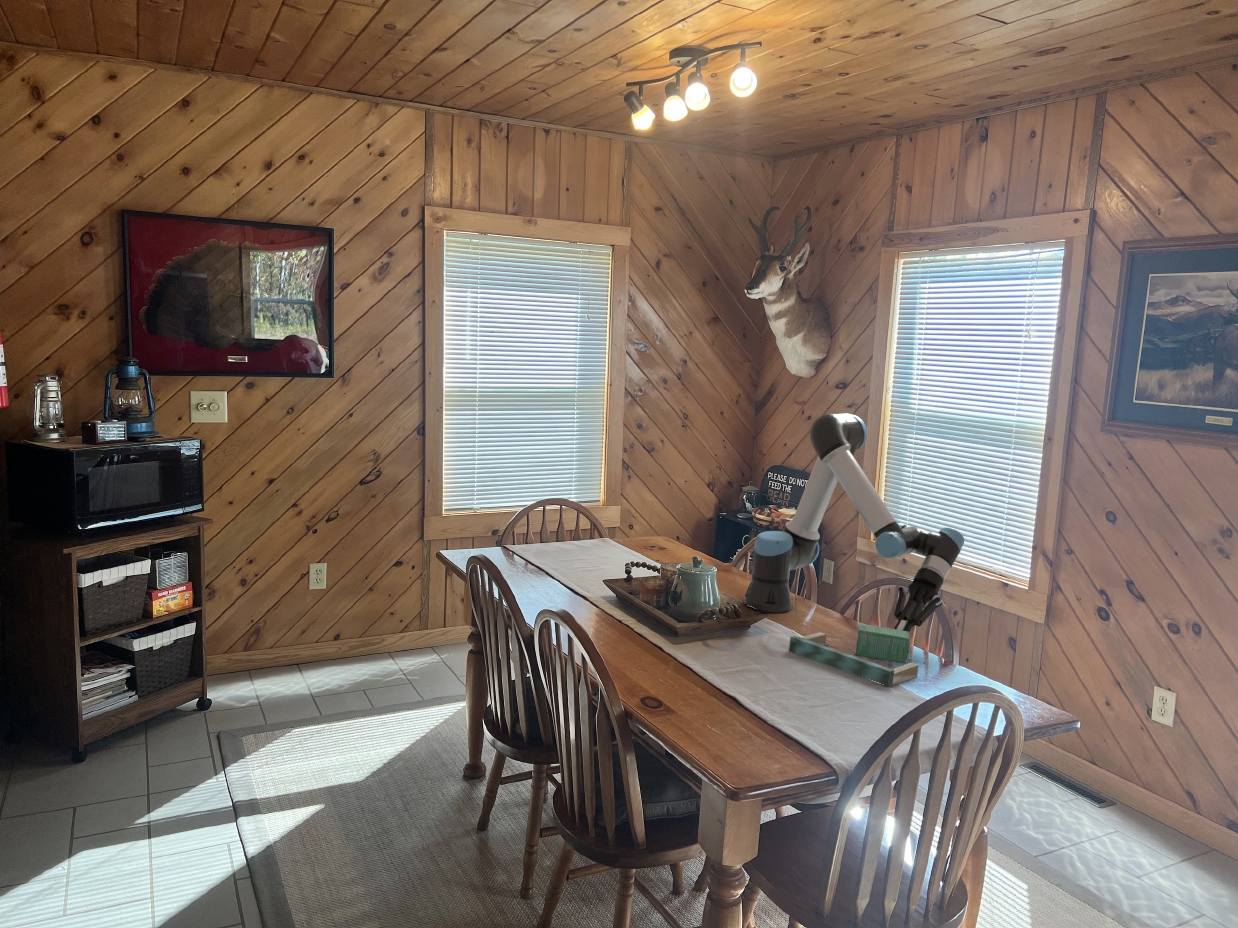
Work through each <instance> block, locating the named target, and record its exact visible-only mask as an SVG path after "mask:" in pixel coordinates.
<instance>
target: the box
mask: <svg viewBox="0 0 1238 928" xmlns="http://www.w3.org/2000/svg"><path fill="white" fill-rule="evenodd" d="M857 632H858V634H857V642H856V649H855V653H856V654H855V655H854V656H859V657H860V656H861V657H865V658H870V659H871V658H872V659H876V658H877V660H883V661H888V662H893V661H894V662H893V663H901V664H904V665H906V664H907V661H908V657H909V654H910V632H908V631H902V630H897V629H894V628H890V627H884V626H877V625H872V624H866V623H859V627H858V631H857Z"/></svg>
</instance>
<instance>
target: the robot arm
mask: <svg viewBox="0 0 1238 928" xmlns="http://www.w3.org/2000/svg"><path fill="white" fill-rule="evenodd" d="M867 429H868V428H867V426H866V424H865V422H864V421H863V419H861V418H860V417H859V416H857V415H856V414H852V413H848V412H842V413H824V414H821V415H819V416H818V417H817V418H815V420H814V421H813V422H812V424H811V427H810V430H809V439H810V443H811V446H812V448H813V449H814V451H815V454H816V455H817V458H816V461H815V463H814V466H813V468H812V470H811V473H810V476H809V478H808V480H807V483H806V486H805V488H804V491H803V494H802V495H801V498H800V501H799V503H798V506H797V508H796V511H795V514H794V515H793V518H792V520H789V521H787V522H786V523H785V524H784V527H783V530H782V531H780V530H771V531H770V530H768V531H767V530H766V531H762V532H760V533H759V534H757V535H756V537H755V542H754V545H753V558H752V571H751V580H750V582H749V584H748V588H747V589H746V592H745V594H744V597H743V605H744V604H746V605H749V606H752V607H754V608H756V609H758V610H757V611H759V610H762V611H761V612H765V613H774V614H775V613H778V614H779V613H787V612H790V611H791V610H792V607H793V600H792V597H791V590H790V587H789V580H790V571H792V570H793V571H794V570H797V569H803V568H806V567H808V566H809V565H812V564H813V563H814V562H815V561H816V560H817V558H818V556H819V552H820V545H819V540H820V537H821V536H820V533H819V530H818V529H819V527H820V524H821V523H822V520H823V518H824V516H825V513H826V510H827V508H828V505H829V503H830V501H831V498H832V496H833V493H834V491H835V489H836V486H837V484H838V482H839V484H840V485H841V487H842V488H843V490H844V492H845V493H846V495H847V496H848V498H849V499H850V501H851V502H852V504H853V505H854V507H855V509H856V510H857V512H858V513H859V515H860V517H862V519H863V521H864V522H865V524H866V526H867V527H868V529H869V530H870V532H871V533H872V535H873V537H874V539H875V543H874V544H875V549H876V552H877V553H878V554H879V556H881V557H882V558H885V559H896V558H897V559H898V558H900V557H902V556H905V555H908V554H909V555H910V554H912V553H914V554H916V555H917V554H918V555H921V556H923V557H924V559H923V561H922V562H921V564H920V566H919V569H918V570H917V572H916V573H915V575H914V578H913V580H912V582H911V583H910V584H909V585H908V586H907V587H903V586H899V587H898V598H897V601H896V606H895V609H894V613H893V614H894V617H895V619H896V621H897V622H896V624H895V625H894V626H893V627H894V628H893V629H897V630H902V631H908V632H909V633H910V632H911V630H912V628H913V627H915V626H917V627H921V626H922V625H923V624H924V623H925V621H926V620H927V619H928V618H929V617H930V616H931V615H932V613H933V612H934V611H935V610H936V609H937V608H940V607H941V606H942V605H943V604H944V603H943V601H942V598H941V597H940V596H938V595H939V592H940V589H941V588H942V587H943V584H944V581H945V580H946V578H947V577H948V575H949V573H950V571H951V569H952V567H953V565H954V563H955V562H956V560H957V558H958V556H959V554H960V553H961V552H962V551H961V550H962V548H963V546H964V543H965V537H964V536H963V533H961V532H960V531H959V530H957V529H956V528H953V527H948V526H947V527H946V526H945V527H942V528H941V529H940V530H939V531H938V532H936V531H931V530H929V529H928V530H927V529H924V528H921V527H917V526H914V525H912V524H907V523H903V522H899V523H897V521H896V519H895V517H894V516H893V514H892V513H891V512H890V510H889V508H888V507H887V505H886V504H885V502H884V500H883V499H882V498H881V496H880V495H879V493H878V491H877V490H876V489H875V487H874V486H873V484H872V483H871V481H870V479H869V478H868V476H867V475H866V473H865V472H864V471H863V469H862V467H861V466H860V465H859V463H858V461H857V460H856V458H855V457H854V456H855V453H856V451H858V450H859V449H861V448H862V447H863V446H864V445H865V444H866V441H867V438H868V430H867ZM908 594H909V596H908ZM907 597H908V600H907V602H906V599H907ZM746 605H745V606H746Z"/></svg>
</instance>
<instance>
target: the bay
mask: <svg viewBox="0 0 1238 928" xmlns="http://www.w3.org/2000/svg"><path fill="white" fill-rule="evenodd" d="M826 642H827V633H825V632H819V631H818V632H816V633H812V634H808V635H804V636H801V637H800V636H797V635H792V636H790V637H789V645H788V646H789V648H788V652H791V653H793V654H796V655H798V656H802V657H804V658H806V659H809V660H812V661H816V662H818V663H821V664H822V665H823V664H824V665H825V666H829V667H832V668H833V669H837V670H840V671H842V670H843V672H846V673H847V674H850V673H851V675H853V674H854V675H853V676H856V675H857V676H856V677H859V676H860V677H859V678H861V677H863V678H862V679H864V678H867V679H870V680H873V681H876V682H879V683H881V684H884V685H885V686H884V687H886V686H890V685H893V684H895V685H897V683H898V684H901V683H903V682H905V681H908V680H911V679H914V678H917V677H918V673H919V664H917V663H914V662H909V663H906V664H904V665H901V666H897V667H895V668H889V667H886V666H884V665H880V664H879V663H875V662H871V661H869V660H866V659H863V658H860V657H858V656H856V655H851V654H849V653H847V652H843V651H841V650H839V649H835V648H832V647H829V646H826ZM867 679H866V680H867ZM870 680H869V681H870ZM881 684H880V685H881ZM893 686H894V685H893ZM890 687H891V686H890Z"/></svg>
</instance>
